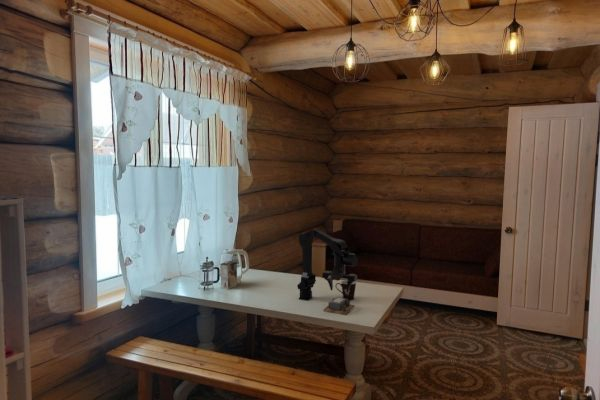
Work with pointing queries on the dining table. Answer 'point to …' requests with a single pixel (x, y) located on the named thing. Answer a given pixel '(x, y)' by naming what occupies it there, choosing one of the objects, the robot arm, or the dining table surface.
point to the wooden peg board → (344, 311)
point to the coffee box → (228, 274)
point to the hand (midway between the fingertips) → (339, 291)
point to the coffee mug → (344, 290)
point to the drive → (338, 303)
